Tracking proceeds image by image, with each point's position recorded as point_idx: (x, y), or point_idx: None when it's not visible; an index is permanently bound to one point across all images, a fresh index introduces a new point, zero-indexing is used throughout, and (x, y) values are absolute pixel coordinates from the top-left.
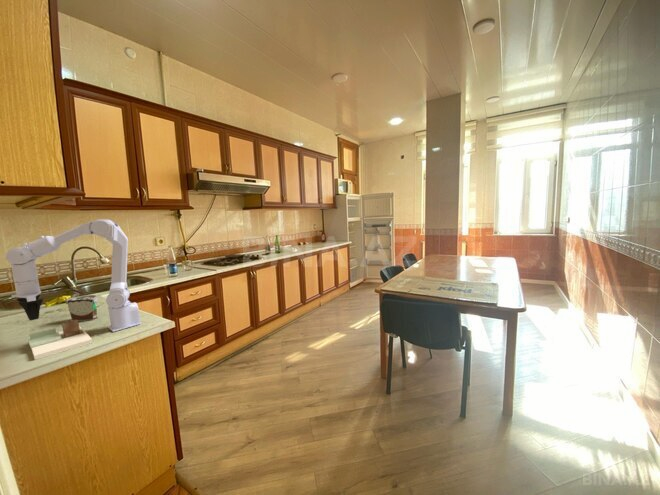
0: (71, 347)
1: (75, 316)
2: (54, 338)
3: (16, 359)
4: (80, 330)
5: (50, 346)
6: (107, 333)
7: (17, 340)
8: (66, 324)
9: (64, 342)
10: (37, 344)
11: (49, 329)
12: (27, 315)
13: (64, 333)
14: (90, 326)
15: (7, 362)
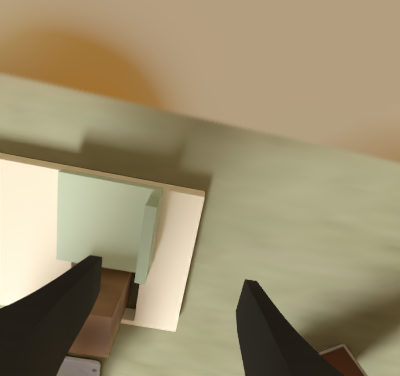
0: None
1: (337, 368)
2: (62, 243)
3: (31, 112)
4: (134, 315)
5: (9, 209)
6: None
7: (309, 180)
8: None
9: (11, 246)
10: (59, 191)
11: (145, 267)
12: (62, 275)
13: None
14: (186, 344)
15: (25, 84)
